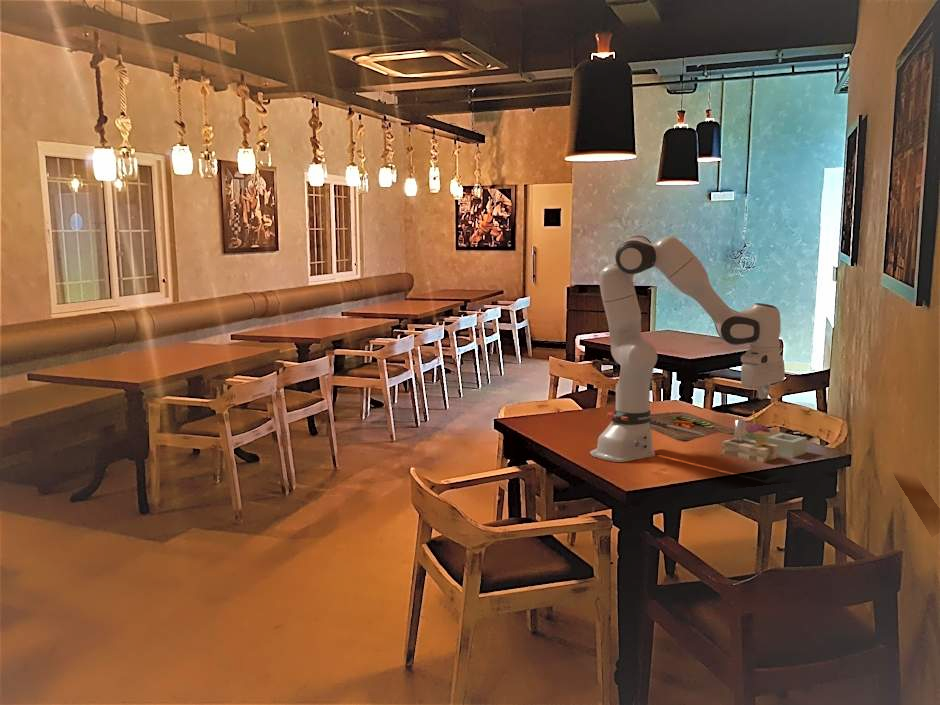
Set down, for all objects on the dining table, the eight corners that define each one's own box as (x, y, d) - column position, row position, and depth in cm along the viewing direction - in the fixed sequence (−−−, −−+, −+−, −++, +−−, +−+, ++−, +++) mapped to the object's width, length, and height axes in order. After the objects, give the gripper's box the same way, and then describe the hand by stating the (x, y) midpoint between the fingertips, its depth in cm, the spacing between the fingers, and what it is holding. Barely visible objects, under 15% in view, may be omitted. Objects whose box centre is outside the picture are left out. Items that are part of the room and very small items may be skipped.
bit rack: (792, 460, 237) (793, 442, 236) (765, 455, 244) (766, 437, 243) (806, 455, 243) (807, 437, 242) (779, 450, 249) (780, 432, 249)
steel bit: (740, 454, 241) (741, 421, 239) (731, 452, 243) (733, 420, 242) (746, 453, 243) (747, 420, 241) (737, 451, 245) (738, 418, 244)
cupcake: (737, 442, 260) (738, 408, 259) (757, 440, 263) (758, 406, 261) (754, 448, 252) (755, 413, 251) (774, 445, 255) (776, 411, 253)
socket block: (762, 465, 232) (763, 450, 231) (721, 456, 243) (722, 441, 242) (777, 460, 238) (778, 445, 237) (736, 451, 249) (737, 436, 248)
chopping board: (751, 438, 267) (751, 430, 267) (687, 445, 259) (687, 437, 259) (680, 413, 310) (680, 406, 309) (623, 418, 302) (623, 411, 301)
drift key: (762, 453, 234) (763, 434, 234) (752, 450, 237) (752, 432, 236) (769, 450, 237) (769, 432, 236) (758, 448, 240) (759, 430, 239)
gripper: (772, 350, 242) (770, 392, 244) (737, 357, 229) (736, 401, 231) (790, 352, 237) (789, 395, 239) (756, 359, 224) (755, 404, 226)
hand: (763, 398), depth 235 cm, fingers closed
